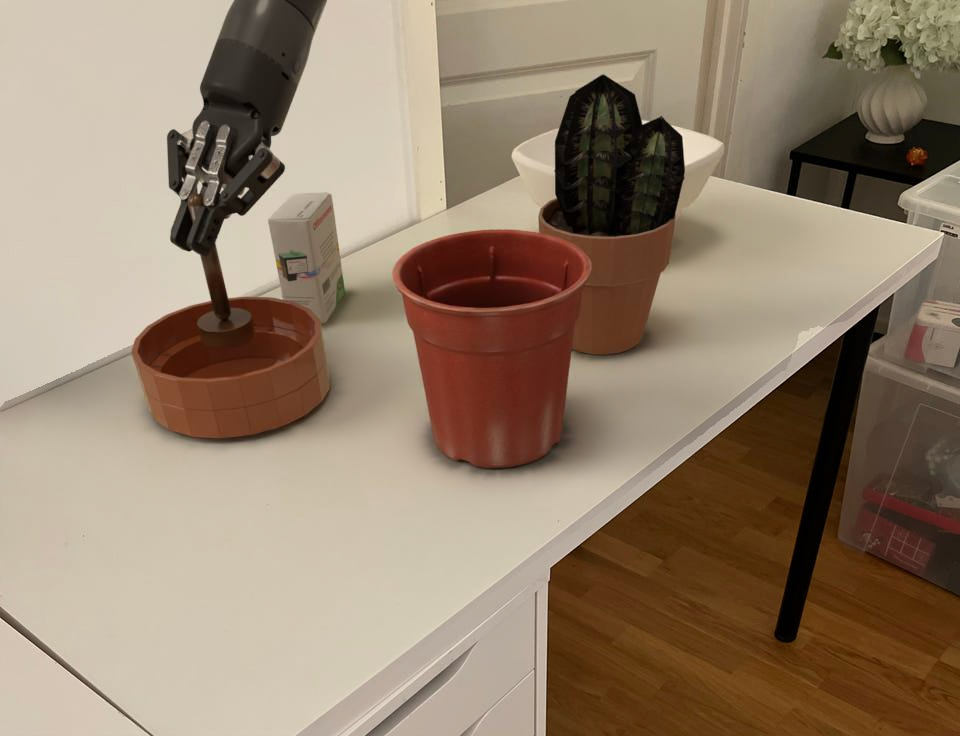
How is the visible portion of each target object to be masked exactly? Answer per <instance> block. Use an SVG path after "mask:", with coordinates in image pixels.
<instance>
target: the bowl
mask: <svg viewBox="0 0 960 736" xmlns="http://www.w3.org/2000/svg"><path fill="white" fill-rule="evenodd" d="M641 120H642V124H645V123H647V122H650V121H651V120H645V119H641ZM670 125H671V126H672V127H673V128H674V129H675V130H676V131H677V132H678V133H679V134H681V135H682V138H683V151H684V164H685V174H684V177H685V178H684V180H683V183H682V188H681V192H680V198H679V200H678V204H677V209H676V219H675V223H676V222H677V220H678V218H679V216H680V215H681V213H682V211H683V210H684V209H686V208H687V207H689V206H690V205H692V204H694V203H695V201H696V200H697V199H698V198H699V196H700V194H701V193H702V191H703V190H704V187H705V186H706V184H707V182H708V181H709V179H710V178H711V176H712V174H713V172H714V171H715V169H716V167H717V166H718V163H719V162H720V160H721V159H722V157H723V155H724V153H725V144H724V142H722V141H721V140H719V139H716V138H715V137H713V136H711V135H707V134H704V133H701V132H698V131H695V130H691V129H687V128H684V127H680V126H676V125H672V124H670ZM558 131H559V127H558V128H555V129H552V130H550V131H547V132H545V133H542V134H539V135H537V136H534V137H532V138H530V139H528V140H526V141H523V142H521V143H520V144H519V145H517V146H516V147H515V148H513V150H512V151H511V152H512V153H511V160H512V162H513V163H514V165H515V167H516V170H517V172H518V173H519V176H520V178H521V180H522V182H523V184H524V186H525V188H526V190H527V193H528V194H529V196H530V198H531V200H532V202H533V203H534V204H535V205H536V206H538V207H539V208H540V209H541V208H542V207H543V206H544V205H545V204H546V203H548V202H549V201H551V200H553V199H555V198H557V197H556V195H555V171H554V170H555V146H554V145H555V140H556V137H557V134H558Z"/></svg>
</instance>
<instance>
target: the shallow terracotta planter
mask: <svg viewBox="0 0 960 736" xmlns="http://www.w3.org/2000/svg"><path fill="white" fill-rule="evenodd" d="M228 300H229V304H230V308H240V309H244V310H246V311H248V312H249V313H250V314H251V316H252V321H253V325H254V330H255V336H254V338H253V339H252V340H251V341H249V342H248V343H246V344H244V345H241V346H238V347H234V348H228V349H214V348H210V347H207V346H205V345H204V344H203V343H202V340H201V337H200V333H199V329H198V325H197V322H198V320H199V319H200V317H202V316H203V315H205V314H207V313H209V312H211V311H214V310H213V306H212V302H211V300H209V301H204V302H199V303H195V304H192V305H188V306H186V307H183V308H180V309H178V310H175V311H172V312H170V313H168V314H167V313H166V314H165V315H163V316H161V317H160V318H159V319H157V320H155V321H154V322H152V323H150V324H149V325H147V326H146V327H145V328H144V329H143V330H142V331H141V332H140V333H139V334H138V336H136V337H135V339H134V341H133V344H132V349H131V352H130V353H131V357H132V360H133V364H134V367H135V370H136V374H137V376H138V379H139V383H140V386H141V389H142V393H143V396H144V400H145V402H146V406H147V409H148V410H149V413H150V414H151V416H152V419H153V420H154V421H155V422H157V423H158V424H160V425H161V426H162V427H164V428H165V429H166V430H168V431H170V432H174V433H179V434H182V435H186V436H188V437H189V436H190V437H195V438H210V439H228V438H234V437H235V438H236V437H237V438H238V437H244V436H253V435H257V434H260V433H264V432H268V431H271V430H275V429H279V428H281V427H283V426H286V425H288V424H291V423H292V422H294V421H296V420H299V419H301V418H303V417H305V416H306V415H308V414H309V413H310V412H311V411H313V409H315V408H316V407H317V406H319V405H320V404H321V403H322V402H323V401H324V399H325V397H326V396H327V394H328V392H329V390H330V388H331V384H330V383H331V380H330V371H329V365H328V364H329V363H328V358H327V352H326V345H325V340H324V334H323V327H322V324H321V321H320V319H319V318H318V317H317V316H316V315H315V314H314V313H313V312H312V310H310V309H308V308H306V307H304V306H302V305H300V304H298V303H295V302H292V301H287V300H283V298H282V299H281V298H277V297H271V296H266V297H265V296H238V297H228Z"/></svg>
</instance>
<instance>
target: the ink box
mask: <svg viewBox="0 0 960 736" xmlns="http://www.w3.org/2000/svg"><path fill="white" fill-rule="evenodd" d="M334 209H335V208H334V202H333V195H332V193H329V192H305V193H304V192H303V193H291V194H290V195H289V196H288V197H287V199H286V200H285V201H284V202H283V203H282V204H281V205H280V206H279V207H278V208H277V209H276V210H275V211H274V212H273V213H272V214H271V215H270V216H269V217H268V219H267V223H268V227H269V228H268V229H269V233H270V240H271V244H272V249H273V254H274V259H275V264H276V270H277V275H278V281H279V285H280V291H281V296H282V300H287V301H292V302H295V303H298V304H300V305H302V306H304V307H306V308H308V309H310V310H312V312H313V313H314V314H315V315H316V316H317V317H318V318H319V319H320V321H321V325H322V324H323V325H324V324H326V323H328V322H327V321H328V320H329V319H330V317H331V316H332V314H333V312H334V311H335V309H336V308H337V307H338V305H339V304H340V302H341V300H342V299H343V297H344V296H345V294H346V287H345V281H344V273H343V266H342V260H341V259H342V258H341V254H340V253H341V252H340V245H339V237H338V231H337V223H336V215H335V210H334Z"/></svg>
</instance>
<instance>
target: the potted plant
mask: <svg viewBox="0 0 960 736" xmlns="http://www.w3.org/2000/svg"><path fill="white" fill-rule="evenodd" d="M642 120H643V119H642V117H641V113H640V108H639V106H638V101H637V97H636V94H635V93H634V92H632V91H631V90H629V89H628V88H626V87H625V86H623V85H622V84H619V83H618V82H616V81H615V80H614V79H612V78H610V77H609V76H607V75H606V74H600V75H599V76H597V77H596V78H594V79H592V80H591V81H589V82H588V83H586V84H584V85H583V86H581V87H580V88H578V89H576V90H574V93H572V94H571V95H570V96H569V97H568V100H567V103H566V107H565V109H564V112H563V115H562V119H561V121H560V125H559V127H558V128H559V131H558V134H557V137H556V140H555V145H554V146H555V170H554V171H555V195H556V197H557V198H555V199H553V200H551V201H549V202H548V203H546V204H545V205H544V206H543V207H542V208H541V207H540V208H539V212H538V215H537V216H538V233H542V234H547V235H551V236H554V237H558V238H560V239H563V240H566V241H568V242H570V243H572V244H574V245H576V246H577V247H579V248H580V249H581V250H582V251H584V253H585V254H586V255H587V256H588V258H589V259H590V261H591V272H590V275H589V278H588V280H587V282H586V283H585V284H584V285H583V290H582V298H581V307H580V314H579V317H578V319H577V321H576V323H575V326H574V334H573V343H572V350H574V351H577V352H579V353H583V354H588V355H589V354H590V355H603V356H604V355H605V356H607V355H614V354H615V355H616V354H619V353H624V352H626V351H628V350H631V349H632V348H634V347H636V346H637V345H639V343H640V342H641V341H642V339H643V336H644V333H645V330H646V325H647V322H648V319H649V315H650V311H651V308H652V306H653V305H652V304H653V301H654V298H655V294H656V292H657V287H658V284H659V280H660V277H661V274H662V273H663V272H664V271H665V270H666V269H667V267H668V266H669V265H670V260H671V252H672V247H673V239H674V233H675V232H674V231H675V224H676V222H675V219H676V209H677V204H678V200H679V198H680V192H681V188H682V183H683V180H684V178H685V177H684V174H685V164H684V151H683V138H682V135H681V134H679V133H678V132H677V131H676V130H675V129H674V128H673V127H672V126H673V125H672V124H670V123H669V122H668V121H667V120H666V119H665V117H663V115H660V116H659V117H656V118H654V119H652V120H649V121H650V122H647V123H645V124H642ZM671 125H672V126H671Z"/></svg>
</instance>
